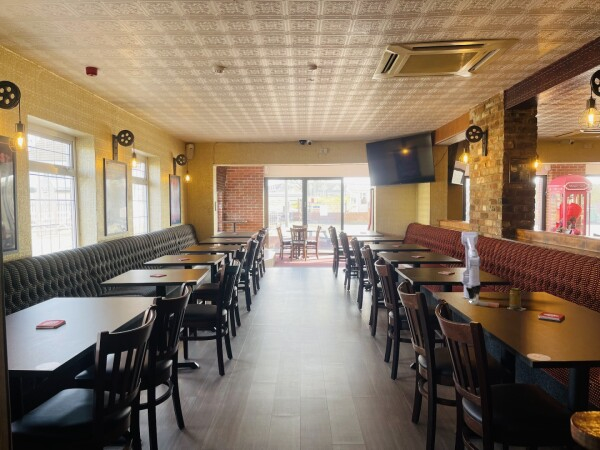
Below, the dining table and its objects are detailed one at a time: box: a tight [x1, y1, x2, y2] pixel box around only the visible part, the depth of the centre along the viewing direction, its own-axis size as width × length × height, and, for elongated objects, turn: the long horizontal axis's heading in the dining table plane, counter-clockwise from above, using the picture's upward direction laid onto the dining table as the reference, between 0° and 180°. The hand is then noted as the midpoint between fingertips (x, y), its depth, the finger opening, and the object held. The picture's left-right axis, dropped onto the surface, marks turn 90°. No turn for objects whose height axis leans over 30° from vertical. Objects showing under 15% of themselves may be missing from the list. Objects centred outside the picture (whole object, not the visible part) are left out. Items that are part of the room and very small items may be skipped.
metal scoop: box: [467, 299, 500, 308], centre depth 268 cm, size 18×7×4 cm, turn 48°
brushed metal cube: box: [469, 293, 479, 302], centre depth 272 cm, size 4×4×4 cm
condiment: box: [508, 287, 526, 311], centre depth 258 cm, size 7×8×12 cm
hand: (473, 297), depth 272 cm, fingers open, 7 cm apart
